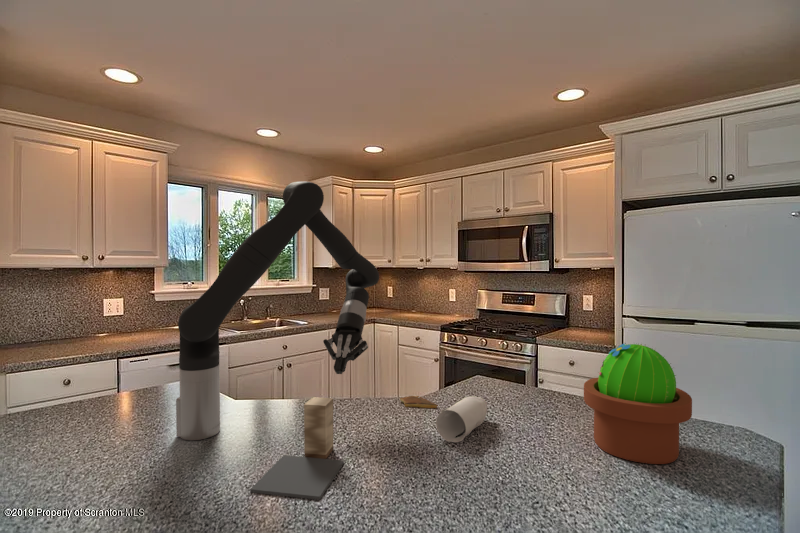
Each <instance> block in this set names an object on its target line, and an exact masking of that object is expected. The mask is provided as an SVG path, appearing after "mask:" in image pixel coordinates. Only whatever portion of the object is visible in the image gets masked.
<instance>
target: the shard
mask: <svg viewBox="0 0 800 533" xmlns="http://www.w3.org/2000/svg"><path fill="white" fill-rule="evenodd" d="M418 397H420V398H418ZM399 401H400V402H401V403H403V405H404V407H405V408H410V407H411V408H421V409H422V408H425V409H437V408H438V406H439V404H436V403H434V402H432V401H430V400H428V399H426V398H424V397H422V396H419V395H408V396H405V397H400V398H399Z"/></svg>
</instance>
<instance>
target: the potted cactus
mask: <svg viewBox="0 0 800 533" xmlns="http://www.w3.org/2000/svg"><path fill="white" fill-rule="evenodd" d="M653 348H654V347H653V346H652V347H650V346H647V345H643V343H640V344H639V343H636V344H635V343H632V344H631V343H630V344H627V343H626V342H624V343H622V344H620V345H619V346H617V347H612V349H611V350H610V351H609V352H607V354H608V355H607V356H606V357H605V359H603V362H602V365H600V371H597V373H599V374H598V377H593V378H590V379H588V380H586V381H585V382H584V383H583V401H584V403H585V404H586V405H587V406H588V407H589V408H591V409H592V410H593V440H594V442H595V444H596V446H598V449H601V450H602V451H604V452H605V453H607V454H609V455H611V456H614V457H616V458H620V459H622V460H626V461H631V462H635V463H640V464H649V465H666V464H671V463H673V462H676V460H677V459H678V458H679V455H680V424H682V423H685V422H688V421H690V419H691V418H692V416H693V399H692V397H691V395H690V394H689V393H688V392H686V391H684V390H683V389H681V388H679V387H677V384H678V382H677V380H676V374H675V373H674V370H673V369H675V367H672V366H671V363H669V362H668V361H669V360H667V359H666V358H665V356H663V355H662V354H660V353H659V352H658V351H656V349H657V348H656V347H655V348H654V349H653Z"/></svg>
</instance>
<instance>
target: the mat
mask: <svg viewBox="0 0 800 533" xmlns="http://www.w3.org/2000/svg"><path fill="white" fill-rule="evenodd" d="M344 462H345V460H339V459H331V458H326V459H321V458H310V457H305V456H296V455H286V454H285V455H282V456H281V458H279V459H278V460H277V461H276V462H275V464H273V466H271V467H270V468H269V470H268V471H267V472H266V473H265V474H264V475H262V477H261V478H259V479H258V481H257V482H256V483H255V484H253V486H252V487H251V488H250V489H249V491H250V493H252V494H253V493H254V494H264V495H272V496H280V497H289V498H290V497H291V498H298V499H300V498H301V499H307V500H308V499H309V500H317V501H318V500H319V501H320V500H321V499H322V497H323V496H324V494H325V493H326V491H327V490H328V488H329V487H330V485H331V484H332V482H333V481H334V479H335V477H336V476H337V474H338V473H339V471H340V469H342V466H343V465H344Z"/></svg>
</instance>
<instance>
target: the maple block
mask: <svg viewBox="0 0 800 533" xmlns="http://www.w3.org/2000/svg"><path fill="white" fill-rule="evenodd" d="M303 413H304V414H303V415H304V416H303V417H304V418H303V422H304V426H303V427H304V428H303V429H304V431H303V433H304V436H303V437H304V438H303V439H304V448H303V449H304V457H310V458H321V459H328V457H329V456H330V455H331V453H333V451H334V398H333V397H331V398H330V397H318V396H316V397H315V396H313V397H311V398H310V399H309V400H307V401H306V402H305V403H304V405H303Z"/></svg>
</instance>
